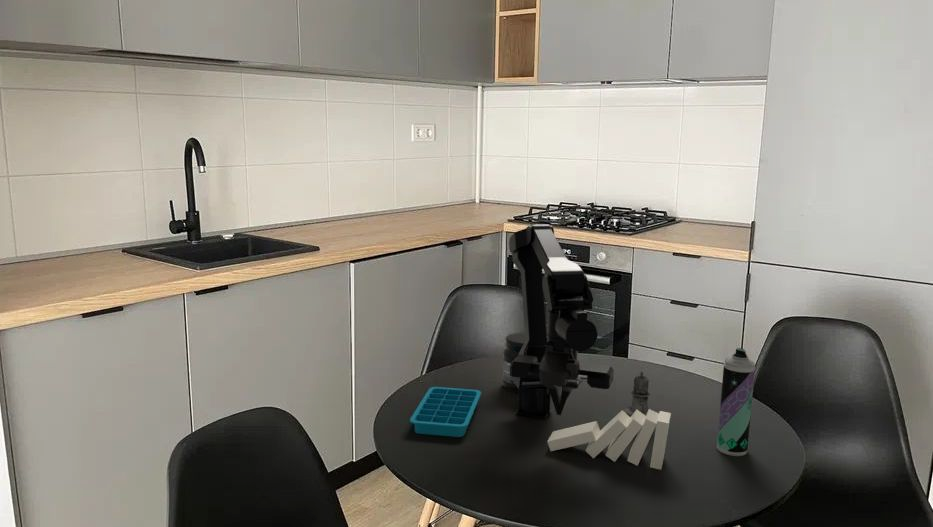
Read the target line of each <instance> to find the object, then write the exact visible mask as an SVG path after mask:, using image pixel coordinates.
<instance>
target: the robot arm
mask: <svg viewBox="0 0 933 527" xmlns="http://www.w3.org/2000/svg"><path fill="white" fill-rule="evenodd" d="M508 248H509V252H510V254H511V256H512V262H513V264H514V265H515V267H516V268H517V270H518V271H519V272H520V278H521V290H522V291H521V293H522V294H521V295H522V308H523V309H522V310H523V320H524V321H523V324H524V325H523V326H524V333H525V342H524V344H523V346H522V348H521V350H520V352H519V356H518V357H517V358H516V359H515V360H514V361H513V362H512V363H511V365H510V376H512V377H513V381H514V383H515V384H516V386H517V387H518V389H519V393H518V403H517V405H518V406H517V410H516V411H515V415H516V416H517V415H518V416H524V417H531V418H537V419H546V418H547V417H548V415H549V414H550V413H551V412H552V411H553V407H554V410H555V413H556V415H557V416H562V414H563V413H564V410H565V407H566V406H567V404H568V403H567V402H568V400H569V398H570V395H571V394H572V393H571V392H572V391H573V390H577V389H578V388H580V385H581V384H582V382H583V380H586V383H587V384H588V386H589V387H590V388H593V389H599V390H600V389H601V390H609V389H610V387H611V385H612V383H613V381H614V373H615V370H614V368H613V367H612V366H611V365H605V364H597V363H592V365H591V366H590V368H582V367H580V361H579V359H578V354H579V353H578V352H584V351H588V350H589V349H591V348H592V347H593V346H594V345H595V344H596V342H597V339H598V335H599V334H598V331H597V330H598V329H597V327H596V325H595V324H594V323H593V322H592V321H591V320H590V319H589V318H588V311H587V310H593V302H594V296H593V293H592V289H591V286H590V282H589V280H588V276H587V275H586V274H585V272H584V271H583V269H582V268H581V266H580V265H579V264H577V263H576V262H574V261H571V260H569V259H568V258H567V257H566V255H565V252H564V250H563V249H562V247H561V245H560V243H559V242H558V240H557V238H556V235H555V229H554V226H553V225H550V224H530V225H528V226H526V228H522V229H520V230H517V231H515V232H513V233H512V235H511V236H510V237H509V241H508ZM543 272H544V275H543ZM545 302H546V305H545ZM546 306H547V308H548V311H547V313H548V314H547V319H546ZM585 310H586V311H585Z"/></svg>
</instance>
